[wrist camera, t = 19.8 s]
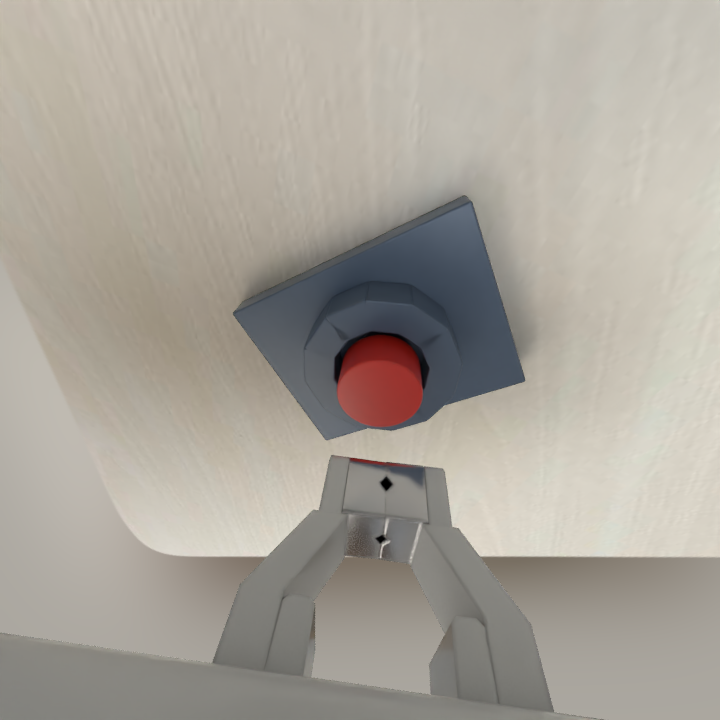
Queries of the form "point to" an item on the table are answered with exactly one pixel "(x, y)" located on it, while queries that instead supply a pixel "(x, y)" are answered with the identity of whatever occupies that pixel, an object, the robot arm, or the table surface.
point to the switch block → (391, 317)
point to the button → (380, 381)
